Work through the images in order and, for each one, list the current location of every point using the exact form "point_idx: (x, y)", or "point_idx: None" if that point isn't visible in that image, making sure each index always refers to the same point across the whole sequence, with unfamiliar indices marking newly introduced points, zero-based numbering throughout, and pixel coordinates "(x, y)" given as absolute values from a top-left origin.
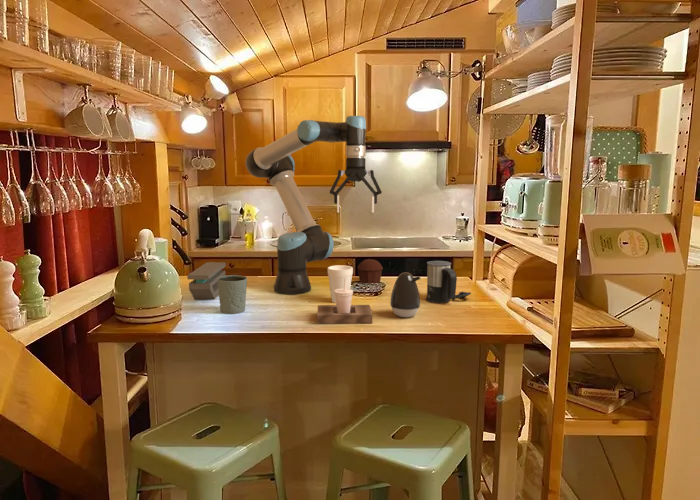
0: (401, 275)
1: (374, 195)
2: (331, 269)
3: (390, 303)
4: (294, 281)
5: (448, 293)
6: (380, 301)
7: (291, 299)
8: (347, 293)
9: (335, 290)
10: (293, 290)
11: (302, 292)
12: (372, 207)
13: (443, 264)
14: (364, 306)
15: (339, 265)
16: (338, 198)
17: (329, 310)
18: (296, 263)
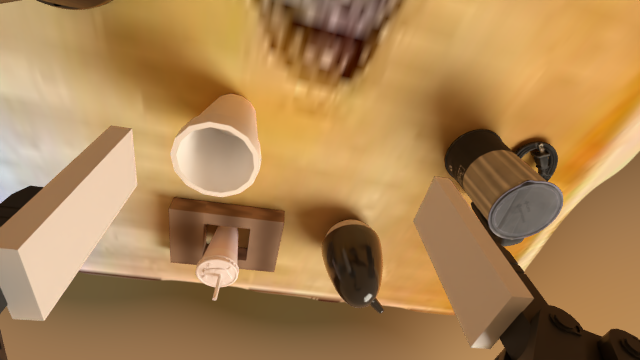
0: (348, 302)
1: (506, 339)
2: (184, 180)
3: (322, 246)
4: (55, 3)
5: (475, 211)
6: (337, 137)
7: (85, 65)
8: (223, 285)
9: (198, 268)
10: (71, 9)
11: (108, 1)
12: (429, 249)
13: (519, 231)
14: (271, 230)
15: (216, 126)
16: (55, 289)
17: (195, 241)
18: (13, 1)
